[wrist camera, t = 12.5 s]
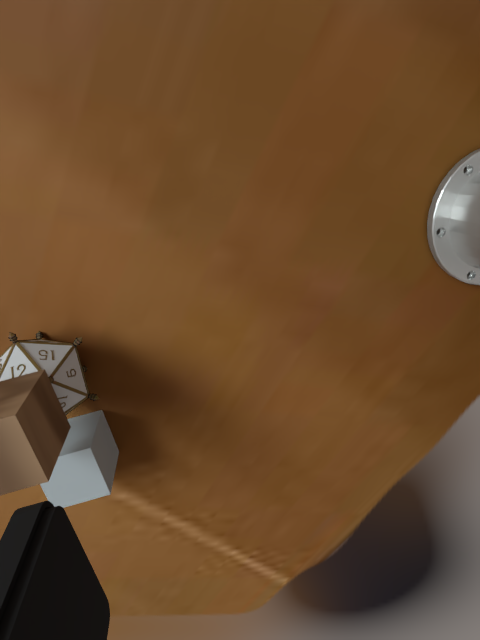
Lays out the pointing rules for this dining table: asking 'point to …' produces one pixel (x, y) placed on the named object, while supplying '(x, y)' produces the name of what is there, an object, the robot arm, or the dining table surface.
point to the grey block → (84, 462)
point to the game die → (49, 367)
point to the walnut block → (29, 431)
